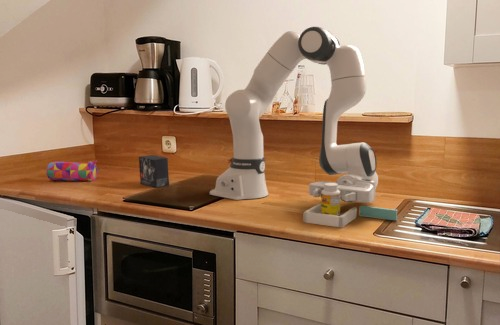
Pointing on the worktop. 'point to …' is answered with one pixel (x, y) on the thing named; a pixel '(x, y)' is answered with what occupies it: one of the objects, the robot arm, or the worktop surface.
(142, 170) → the small box
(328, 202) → the supplement bottle
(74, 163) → the pencil case
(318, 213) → the tray
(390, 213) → the teal flat bar
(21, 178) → the worktop surface
